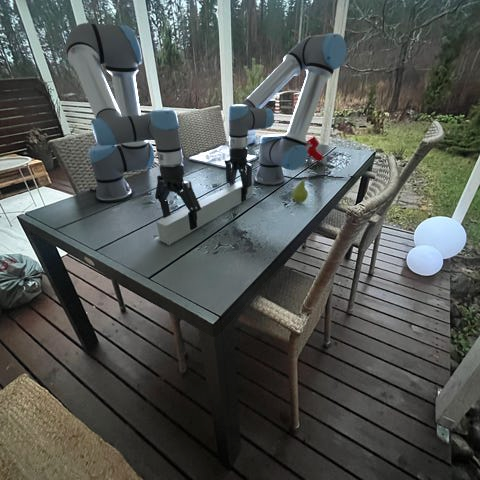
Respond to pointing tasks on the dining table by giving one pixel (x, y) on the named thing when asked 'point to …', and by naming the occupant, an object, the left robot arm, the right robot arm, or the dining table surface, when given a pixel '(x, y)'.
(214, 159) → the relief map
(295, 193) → the fruit
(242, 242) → the dining table surface
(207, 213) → the bar
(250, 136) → the ink box
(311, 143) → the toy gun
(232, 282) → the dining table surface
